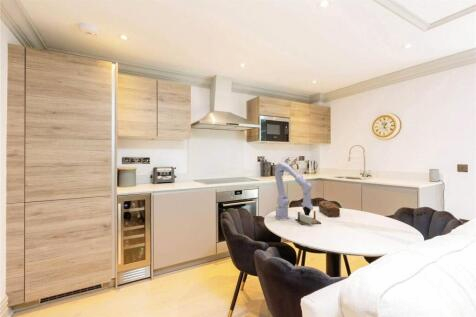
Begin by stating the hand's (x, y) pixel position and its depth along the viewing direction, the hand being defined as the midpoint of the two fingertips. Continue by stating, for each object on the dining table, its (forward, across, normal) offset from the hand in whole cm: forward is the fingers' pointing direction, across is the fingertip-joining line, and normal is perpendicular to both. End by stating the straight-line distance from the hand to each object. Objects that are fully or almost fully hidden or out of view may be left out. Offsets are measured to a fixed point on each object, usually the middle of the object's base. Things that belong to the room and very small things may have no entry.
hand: (307, 216), depth 171 cm
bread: (+4, +17, -28) cm, 33 cm away
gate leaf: (+2, -5, +3) cm, 6 cm away
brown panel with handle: (+4, 0, -1) cm, 4 cm away
